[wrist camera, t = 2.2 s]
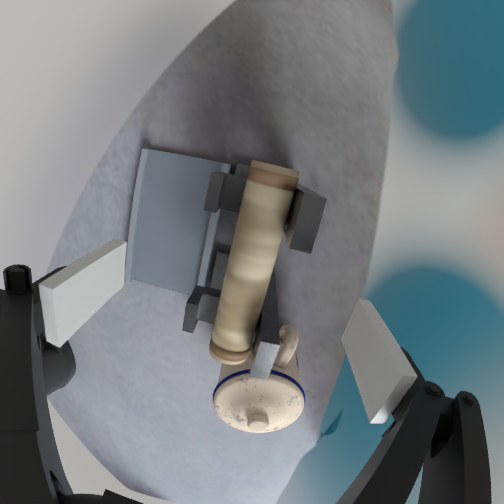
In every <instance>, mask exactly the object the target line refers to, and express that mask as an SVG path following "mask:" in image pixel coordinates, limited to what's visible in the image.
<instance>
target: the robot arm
mask: <svg viewBox="0 0 504 504" xmlns="http://www.w3.org/2000/svg"><path fill="white" fill-rule="evenodd" d="M126 246H127V242H126V241H122V240H119V239H114V240H112V241H110V242H108V243H106V244H105V245H103V246H101V247H99V248H98V249H96V250H94V251H92V252H91V253H89V254H87V255H85V256H84V257H82V258H80V259H79V260H77V261H75V262H74V263H72V264H70V265H69V266H64V267H60V268H57V269H55V270H54V271H52V272H51V273H49V274H47V275H46V276H44V277H42V278H41V279H39V280H37V281H36V282H34V283H33V284H32V275H31V269H30V268H29V267H28V266H25V265H19V264H18V265H12V266H9V267H7V268H5V270H4V271H3V275H4V283H5V290H2V289H0V504H143V503H141V502H138V501H135V500H132V499H129V498H127V497H124V496H121V495H119V494H116V493H114V492H111V491H109V490H107V489H105V492H104V494H103V496H101V495H94V494H73V492H72V489H71V487H70V485H69V483H68V481H67V479H66V476H65V473H64V470H63V467H62V464H61V460H60V457H59V454H58V450H57V446H56V442H55V437H54V433H53V429H52V424H51V419H50V414H49V408H48V403H47V395H49V394H51V393H52V392H54V391H56V390H57V389H59V388H62V387H64V386H65V385H67V384H68V382H69V381H70V380H71V378H72V377H73V376H74V374H75V370H76V365H75V359H74V355H73V353H72V350H71V348H70V346H69V344H68V342H67V340H68V339H69V338H70V337H71V336H72V335H73V334H74V333H75V332H76V331H77V330H78V329H79V328H80V327H81V326H82V325H83V324H84V323H85V322H86V321H87V320H88V319H89V318H90V317H91V316H92V315H93V314H94V313H95V312H96V311H97V310H98V309H100V308H101V307H102V306H103V305H104V304H105V303H106V302H107V301H108V300H109V299H110V298H111V297H112V296H113V295H114V294H115V293H116V292H118V291H119V290H120V289H121V288H122V287H123V286H124V270H125V257H126ZM341 340H342V343H343V346H344V349H345V351H346V354H347V357H348V360H349V363H350V365H351V368H352V371H353V374H354V377H355V380H356V383H357V385H358V388H359V391H360V394H361V397H362V400H363V404H364V406H365V409H366V413H367V416H368V419H369V422H370V423H385V422H386V421H387V420H388V418H389V417H390V416H391V414H392V415H393V418H394V422H393V423H392V424H391V425H390V426H389V428H388V429H387V430H386V431H385V433H384V434H383V435H382V437H383V438H382V440H381V442H380V444H379V445H378V446H377V448H376V450H375V451H374V453H373V454H372V456H371V457H370V459H369V460H368V462H367V463H366V465H365V466H364V468H363V469H362V470H361V472H360V473H359V475H358V476H357V477H356V479H355V480H354V482H353V483H352V484H351V485H350V487H349V488H348V489H347V491H346V492H345V493H344V494H343V496H342V497H341V498H340V499H339V500H338V502H337V503H336V504H405V502H406V500H407V499H408V496H409V494H410V492H411V490H412V488H413V486H414V484H415V482H416V479H417V477H418V475H419V472H420V470H421V467H422V465H423V463H424V465H423V473H422V482H421V488H420V495H419V501H418V504H491V479H490V468H489V458H488V450H487V443H486V436H485V431H484V425H483V419H482V415H481V409H480V405H479V402H478V400H477V399H476V397H475V396H474V395H473V394H472V393H469V392H466V391H460V392H459V393H458V394H457V396H456V397H455V399H452V398H449V397H445V394H444V392H443V390H442V389H441V388H440V387H439V386H438V385H437V384H435V383H432V382H430V381H425V379H424V378H423V376H422V374H421V373H420V371H419V369H418V368H417V366H416V364H415V363H414V362H413V361H412V358H411V356H410V355H409V353H407V351H405V350H404V349H403V348H402V347H400V346H399V345H398V343H397V342H396V340H395V338H394V337H393V335H392V334H391V332H390V331H389V329H388V327H387V326H386V325H385V323H384V321H383V320H382V318H381V317H380V315H379V314H378V312H377V311H376V309H375V308H374V306H373V305H372V303H371V302H370V301H368V300H363V299H359V298H358V301H357V303H356V306H355V308H354V310H353V313H352V315H351V318H350V320H349V322H348V325H347V327H346V329H345V331H344V334H343V336H342V338H341Z"/></svg>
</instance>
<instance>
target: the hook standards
mask: <svg viewBox="0 0 504 504" xmlns="http://www.w3.org/2000/svg"><path fill="white" fill-rule="evenodd" d="M249 168H250V166H249V165H245V164H240V163H237V167H236V171H235V175H233V174H229V173H224V172H220V171H219V172H211V176H210V181H209V185H208V190H207V195H206V199H205V204H204V209H203V210H204V211H209V212H213V213H216V212H217V211H218V210H219V209H220V208H221V209H225V210H230V211H234V212H238V213H239V211H240V207H241V203H242V199H243V194H244V190H245V186H246V182H247V176H248V172H249ZM326 200H327V199H326V198H324V197H322V196H320V195H319V194H317V193H315V192H313V191H311V190H309V189H308V188H306V187H304V186H302V185H300V184H297V188H296V191H294V194H293V198H292V202H291V205H290V209H289V213H288V217H287V220H286V224H285V228H284V232H285V236H286V239H287V243H288V246H289V248H290V249H294V250H298V251H302V252H306V253H310V254H311V251H312V248H313V245H314V241H315V238H316V235H317V231H318V228H319V224H320V221H321V217H322V214H323V210H324V207H325V203H326ZM229 255H230V252H229V251H224V250H220V249H219V250H218V252H217V256H216V261H215V265H214V270H213V275H212V280H211V285H210V287H211V288H215V289H219V290H222V286H223V282H224V277H225V273H226V268H227V264H228V259H229ZM211 288H207V287H203V286H199V285H196V286H195V288H194V290H193V292H192V294H191V295H190V297H189V299H188V301H187V303H186V309H185V316H184V323H183V329H182V330H183V331H186V332H190V333H193V331H194V329H195V326H196V324H197V322H198V320H201V321H205V322H209V323H213V324H214V323H215V319H216V314H217V309H218V305H219V300H220V295H221V291H219V290H215V289H211ZM279 347H280V336H279V323H278V310H277V298H276V285H275V273H274V268H273V271H272V275H271V278H270V282H269V285H268V289H267V292H266V296H265V299H264V303H263V306H262V309H261V313H260V316H259V320H258V323H257V327H256V330H255V333H254V337H253V340H252V351H251V364H250V377H254V378H259V379H265V380H267V379H268V377H269V374H270V371H271V369H272V366H273V363H274V361H275V358H276V355H277V353H278V350H279Z"/></svg>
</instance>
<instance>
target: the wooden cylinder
mask: <svg viewBox="0 0 504 504" xmlns="http://www.w3.org/2000/svg"><path fill="white" fill-rule="evenodd" d="M298 175H299V171H295V170H292V169H288V168H284V167H280V166H277V165H273V164H268V163H264V162H260V161H256V160H252V161H251V165H250V168H249V172H248V176H247V182H246V186H245V190H244V194H243V199H242V203H241V207H240V211H239V216H238V220H237V224H236V228H235V233H234V237H233V241H232V246H231V250H230V255H229V259H228V264H227V268H226V273H225V277H224V282H223V286H222V291H221V295H220V300H219V305H218V309H217V314H216V319H215V323H214V328H213V333H212V336H211V341H210V347H209V352H210V354H211V355H212V357H213V358H215V359H216V360H217V361H219V362H222V363H225V364H229V365H237V364H241V363H243V362H244V361H245V360H246V359H247V357H248V356H249V354H250V350H251V347H252V340H253V337H254V333H255V330H256V327H257V323H258V320H259V316H260V313H261V309H262V306H263V303H264V299H265V296H266V292H267V289H268V285H269V282H270V278H271V275H272V271H273V268H274V264H275V260H276V257H277V253H278V250H279V246H280V242H281V239H282V235H283V231H284V228H285V224H286V220H287V217H288V213H289V209H290V205H291V202H292V198H293V194H294V191H296V188H297V184H298V180H299V178H298Z"/></svg>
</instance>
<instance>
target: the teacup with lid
mask: <svg viewBox="0 0 504 504" xmlns="http://www.w3.org/2000/svg"><path fill="white" fill-rule="evenodd" d="M279 336H280V347H279V350H278V353H277V355H276V358H275V361H274V363H273V366H272V369H271V371H270V374H269V377H268V379H267V380H265V379H259V378H254V377H250V364H251V351H252V347H251V350H250V354H249V356H248V357H247V359H246V360H245V361H244V362H243V363H241V364H237V365H229V364H225V363H222V366H221V371H220V376H219V380H218V385H217V386H216V388H215V390H214V393H213V404H214V408H215V410H216V412H217V414H218V415H219V416H220V418H221V419H222V420H223V421H225V422H226V423H227V424H229V425H231V426H232V427H235V428H237V429H240V430H243V431H247V432H256V433H263V432H271V431H276V430H279V429H282V428H284V427H286V426H288V425H290V424H291V423H293V422H294V421H295V420H296V419H297V418H298V417H299V415H300V414H301V412H302V410H303V408H304V405H305V394H304V391H303V389H302V387H301V382H300V375H299V368H298V361H297V354H296V347H297V344H298V331H297V329H296V328H295V327H293V326H291V325H283V326H282V327H281V328H280V329H279Z"/></svg>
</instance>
